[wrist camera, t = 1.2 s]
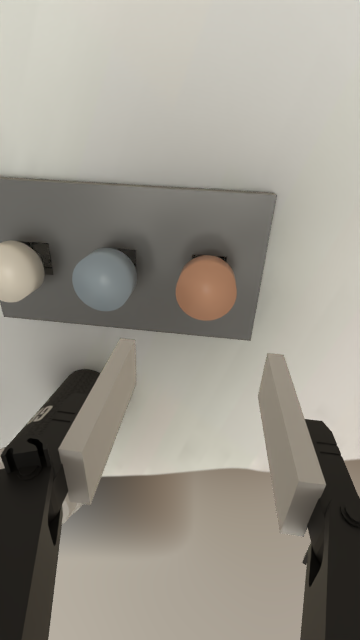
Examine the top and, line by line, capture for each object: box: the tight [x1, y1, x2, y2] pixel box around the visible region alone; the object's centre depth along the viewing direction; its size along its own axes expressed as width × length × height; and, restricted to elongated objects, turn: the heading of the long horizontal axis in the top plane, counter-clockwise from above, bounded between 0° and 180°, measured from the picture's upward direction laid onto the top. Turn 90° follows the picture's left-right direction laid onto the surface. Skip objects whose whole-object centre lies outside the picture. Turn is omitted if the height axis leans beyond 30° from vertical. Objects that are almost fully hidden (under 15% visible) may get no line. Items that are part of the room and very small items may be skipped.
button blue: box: [72, 248, 137, 311], centre depth 26 cm, size 5×5×4 cm
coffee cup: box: [0, 370, 100, 524], centre depth 33 cm, size 10×10×15 cm
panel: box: [0, 177, 277, 341], centre depth 30 cm, size 27×14×2 cm, turn 88°
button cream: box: [0, 240, 45, 302], centre depth 27 cm, size 5×5×4 cm
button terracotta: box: [176, 255, 237, 321], centre depth 26 cm, size 5×5×4 cm
